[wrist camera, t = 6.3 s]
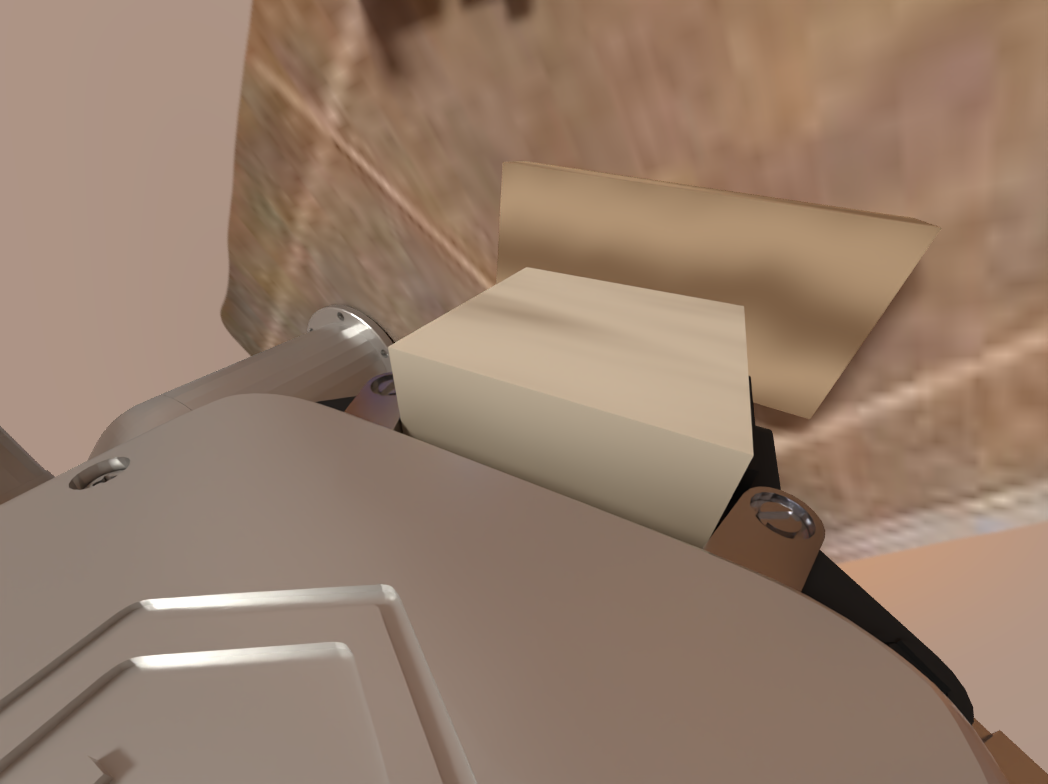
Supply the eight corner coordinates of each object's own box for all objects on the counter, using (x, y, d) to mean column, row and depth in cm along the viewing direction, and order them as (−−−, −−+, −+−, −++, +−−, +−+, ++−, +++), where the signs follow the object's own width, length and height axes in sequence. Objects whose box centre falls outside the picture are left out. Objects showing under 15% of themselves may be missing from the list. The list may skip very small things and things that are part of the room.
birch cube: (678, 474, 13) (647, 656, 8) (519, 421, 15) (422, 544, 10) (744, 306, 9) (753, 455, 5) (526, 267, 11) (387, 346, 7)
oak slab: (801, 389, 24) (809, 419, 21) (515, 309, 29) (494, 325, 27) (909, 216, 18) (941, 227, 15) (528, 161, 24) (502, 161, 21)
